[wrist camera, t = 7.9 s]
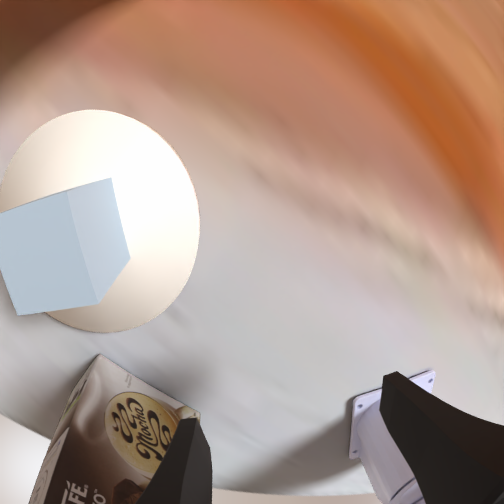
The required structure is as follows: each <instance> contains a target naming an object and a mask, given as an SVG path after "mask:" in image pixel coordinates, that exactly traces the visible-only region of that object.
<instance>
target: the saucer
mask: <svg viewBox="0 0 504 504" xmlns="http://www.w3.org/2000/svg"><path fill="white" fill-rule="evenodd" d="M110 177H112V182H113V187H114V192H115V196H116V201H117V206H118V210H119V214H120V219H121V223H122V227H123V231H124V235H125V239H126V243H127V247H128V250H129V254H130V258H131V259H130V260H129V261H128V263H127V264H126V266H125V267H124V268H123V270H122V271H121V273H120V274H119V275H118V277H117V278H116V280H115V281H114V283H113V284H112V285H111V287H110V288H109V290H108V291H107V293H106V294H105V296H104V297H103V299H102V300H101V302H100V303H99V304H96V305H89V306H82V307H76V308H69V309H62V310H55V311H48V312H46V313H47V314H49V315H50V316H52V317H53V318H55V319H57V320H58V321H60V322H62V323H65V324H67V325H69V326H72V327H75V328H78V329H81V330H86V331H91V332H101V333H109V332H120V331H125V330H129V329H132V328H135V327H138V326H141V325H143V324H145V323H147V322H149V321H150V320H152V319H154V318H155V317H157V316H158V315H159V314H161V313H162V312H163V311H164V310H165V309H166V308H167V307H169V306H170V305H171V304H172V303H173V301H174V300H175V299H176V297H177V296H178V295H179V294H180V292H181V291H182V289H183V287H184V286H185V284H186V282H187V280H188V278H189V276H190V273H191V271H192V268H193V266H194V262H195V258H196V254H197V249H198V243H199V235H200V212H199V204H198V199H197V195H196V191H195V187H194V184H193V182H192V179H191V177H190V174H189V172H188V170H187V168H186V167H185V165H184V163H183V161H182V160H181V158H180V157H179V155H178V154H177V153H176V151H175V150H174V149H173V147H172V146H171V145H170V144H169V143H168V142H167V141H166V140H165V139H164V138H163V137H162V136H161V135H160V134H158V133H157V132H156V131H154V130H153V129H152V128H150V127H149V126H147V125H145V124H143V123H141V122H140V121H138V120H136V119H133V118H130V117H127V116H124V115H122V114H119V113H115V112H110V111H104V110H82V111H75V112H71V113H68V114H64V115H61V116H59V117H57V118H55V119H53V120H50V121H49V122H47V123H45V124H44V125H42V126H41V127H39V128H38V129H37V130H36V131H35V132H33V133H32V134H31V135H30V136H29V137H28V138H27V139H26V140H25V141H24V142H23V144H22V145H21V146H20V147H19V149H18V150H17V152H16V153H15V155H14V156H13V158H12V159H11V161H10V164H9V166H8V168H7V170H6V172H5V175H4V178H3V181H2V184H1V188H0V213H1V212H4V211H7V210H9V209H12V208H14V207H17V206H20V205H22V204H25V203H28V202H31V201H33V200H36V199H39V198H42V197H45V196H48V195H51V194H54V193H57V192H61V191H64V190H67V189H71V188H74V187H78V186H81V185H85V184H88V183H92V182H95V181H99V180H103V179H106V178H110Z"/></svg>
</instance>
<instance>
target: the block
mask: <svg viewBox="0 0 504 504" xmlns="http://www.w3.org/2000/svg"><path fill="white" fill-rule="evenodd" d="M130 259H131V258H130V254H129V250H128V247H127V243H126V239H125V235H124V231H123V227H122V223H121V219H120V214H119V210H118V206H117V201H116V196H115V192H114V187H113V182H112V177H110V178H106V179H103V180H99V181H95V182H92V183H88V184H85V185H81V186H78V187H74V188H71V189H67V190H64V191H61V192H57V193H54V194H51V195H48V196H45V197H42V198H39V199H36V200H33V201H31V202H28V203H25V204H22V205H20V206H17V207H14V208H12V209H9V210H7V211H4V212H1V213H0V270H1V273H2V276H3V279H4V281H5V284H6V287H7V290H8V292H9V295H10V297H11V300H12V303H13V305H14V307H15V310H16V312H17V315H18V316H19V315H27V314H34V313H41V312H48V311H55V310H62V309H69V308H76V307H82V306H89V305H96V304H99V303H100V302H101V300H102V299H103V297H104V296H105V294H106V293H107V291H108V290H109V288H110V287H111V285H112V284H113V283H114V281H115V280H116V278H117V277H118V275H119V274H120V273H121V271H122V270H123V268H124V267H125V266H126V264H127V263H128V261H129V260H130Z"/></svg>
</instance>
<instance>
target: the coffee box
mask: <svg viewBox="0 0 504 504" xmlns="http://www.w3.org/2000/svg"><path fill="white" fill-rule="evenodd" d="M195 417H197V419H198V421H199V424H200V413H199V412H197V411H195V410H194V409H192V408H190V407H188V406H186V405H184V404H182V403H180V402H178V401H177V400H175V399H173V398H171V397H169V396H168V395H166V394H164V393H162V392H160V391H159V390H157V389H155V388H154V387H152V386H150V385H148V384H147V383H145V382H143V381H142V380H140V379H138V378H137V377H135V376H134V375H132V374H130V373H129V372H127V371H125V370H124V369H122V368H121V367H119V366H118V365H116V364H115V363H113V362H112V361H110V360H109V359H107V358H106V357H104V356H103V355H101V354H99V355H98V356H97V357H96V359H95V360H94V361H93V363H92V364H91V365H90V367H89V368H88V369H87V371H86V372H85V374H84V375H83V376H82V378H81V379H80V380H79V382H78V383H77V385H76V386H75V388H74V389H73V391H72V392H71V395H70V398H69V400H68V402H67V405H66V407H65V409H64V412H63V414H62V417H61V419H60V421H59V423H58V426H57V428H56V431H55V433H54V436H53V438H52V441H51V443H50V446H49V448H48V451H47V454H46V456H45V458H44V461H43V464H42V466H41V469H40V472H39V475H38V478H37V480H36V483H35V486H34V489H33V492H32V495H31V498H30V501H29V504H135V502H136V501H137V500H138V498H139V497H140V496H141V494H142V493H143V491H144V490H145V489H146V487H147V485H148V484H149V482H150V481H151V479H152V477H153V475H154V474H155V472H156V470H157V469H158V467H159V465H160V463H161V461H162V459H163V457H164V455H165V453H166V451H167V449H168V447H169V445H170V442H171V440H172V438H173V435H174V433H175V431H176V428H177V425H178V423H179V421H180V420H181V419H186V418H195Z"/></svg>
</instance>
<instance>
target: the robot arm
mask: <svg viewBox="0 0 504 504" xmlns="http://www.w3.org/2000/svg"><path fill="white" fill-rule="evenodd" d="M435 375H436V373H435V372H434V371H433V370H430V371H428V372H425V373H423V374H420V375H418V376H415V377H412V378H410V379H408V378H406V377H405V376H403V375H402V374H400V373H399V372H397V371H396V372H393V373H391V374H388V375H385V376H383V384H382V389H379V390H376V391H373V392H370V393H366V394H363V395H360V396H357V397H356V398H355V399H354V400H353V411H352V425H351V437H350V448H349V458H350V459H352V460H353V459H356V458H359V457H360V459H361V462H362V464H363V466H364V468H365V471H366V473H367V475H368V477H369V480H370V482H371V484H372V486H373V489H374V491H375V493H376V496H377V497H378V499H379V500H380V502H381V503H383V504H504V426H503V425H499V424H495V423H492V422H489V421H486V420H483V419H480V418H477V417H475V416H472V415H470V414H467V413H465V412H463V411H461V410H459V409H457V408H455V407H453V406H451V405H449V404H447V403H446V402H444V401H442V400H440V399H439V398H437V397H435V396H434V395H432V394H431V391H432V387H433V383H434V379H435ZM135 504H212V461H211V452H210V447H209V445H208V442H207V440H206V438H205V436H204V433H203V431H202V429H201V426H200V424H199V421H198V419H197V417H195V418H186V419H181V420H180V421H179V423H178V425H177V428H176V431H175V433H174V435H173V438H172V440H171V442H170V445H169V447H168V449H167V451H166V453H165V455H164V457H163V459H162V461H161V463H160V465H159V467H158V469H157V470H156V472H155V474H154V475H153V477H152V479H151V481H150V482H149V484H148V485H147V487H146V489H145V490H144V491H143V493H142V494H141V496H140V497H139V498H138V500H137V501H136V502H135Z"/></svg>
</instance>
